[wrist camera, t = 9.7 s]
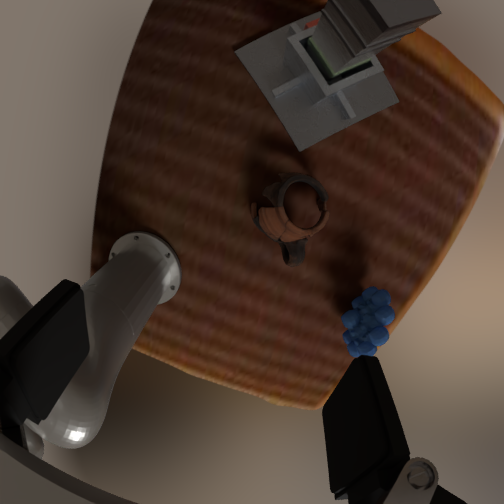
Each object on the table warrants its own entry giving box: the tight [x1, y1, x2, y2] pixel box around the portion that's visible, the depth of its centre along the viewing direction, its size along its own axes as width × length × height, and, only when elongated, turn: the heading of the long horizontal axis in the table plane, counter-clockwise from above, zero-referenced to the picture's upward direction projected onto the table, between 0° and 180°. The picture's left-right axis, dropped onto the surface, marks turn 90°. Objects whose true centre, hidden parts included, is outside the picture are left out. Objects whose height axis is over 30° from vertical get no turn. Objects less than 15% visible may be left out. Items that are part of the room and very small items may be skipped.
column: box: [306, 0, 441, 82], centre depth 17 cm, size 4×4×19 cm
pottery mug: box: [251, 173, 330, 267], centre depth 38 cm, size 12×10×8 cm
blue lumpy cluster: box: [341, 286, 395, 357], centre depth 39 cm, size 12×7×12 cm, turn 165°
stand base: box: [234, 11, 399, 152], centre depth 27 cm, size 16×16×11 cm
